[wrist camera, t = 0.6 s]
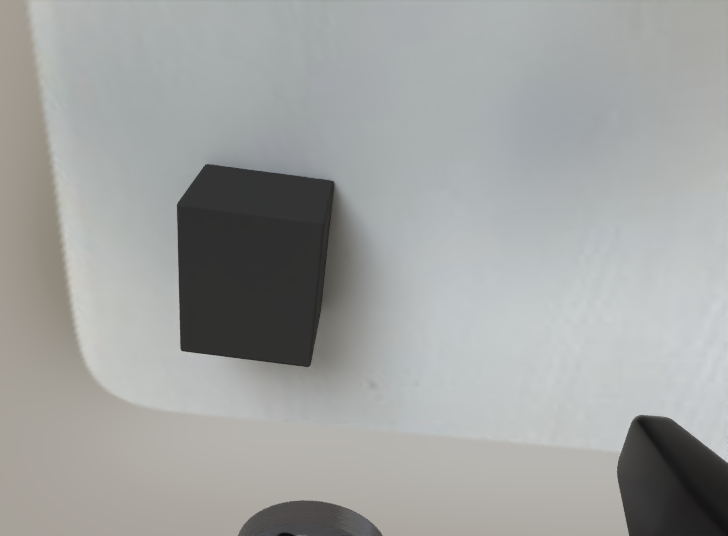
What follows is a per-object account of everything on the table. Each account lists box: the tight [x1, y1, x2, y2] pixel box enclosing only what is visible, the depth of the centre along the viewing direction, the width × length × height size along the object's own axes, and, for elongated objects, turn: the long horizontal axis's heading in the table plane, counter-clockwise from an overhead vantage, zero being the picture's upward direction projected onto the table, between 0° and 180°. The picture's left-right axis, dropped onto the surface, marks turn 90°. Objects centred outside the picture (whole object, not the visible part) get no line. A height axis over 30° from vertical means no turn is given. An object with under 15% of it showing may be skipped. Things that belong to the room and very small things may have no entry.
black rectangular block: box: [177, 164, 334, 367], centre depth 20 cm, size 5×4×3 cm
